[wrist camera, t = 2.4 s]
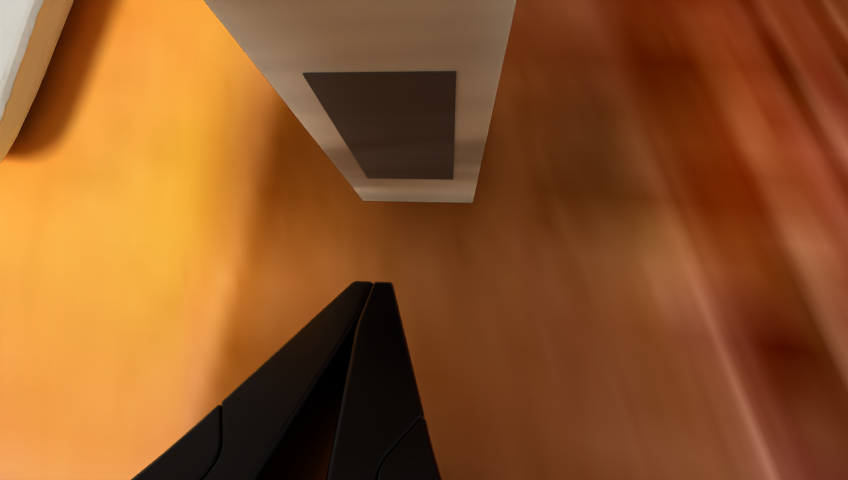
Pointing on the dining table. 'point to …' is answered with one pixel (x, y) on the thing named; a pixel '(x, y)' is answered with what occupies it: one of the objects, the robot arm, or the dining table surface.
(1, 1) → the square plate
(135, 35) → the dining table surface
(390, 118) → the metal block
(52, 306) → the dining table surface
